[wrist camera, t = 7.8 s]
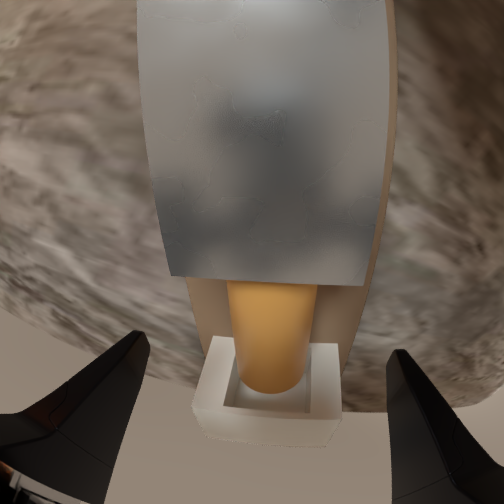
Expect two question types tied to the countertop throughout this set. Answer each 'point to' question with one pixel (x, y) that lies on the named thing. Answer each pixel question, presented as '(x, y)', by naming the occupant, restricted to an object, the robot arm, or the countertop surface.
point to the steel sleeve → (266, 135)
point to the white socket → (269, 401)
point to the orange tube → (271, 332)
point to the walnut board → (328, 296)
